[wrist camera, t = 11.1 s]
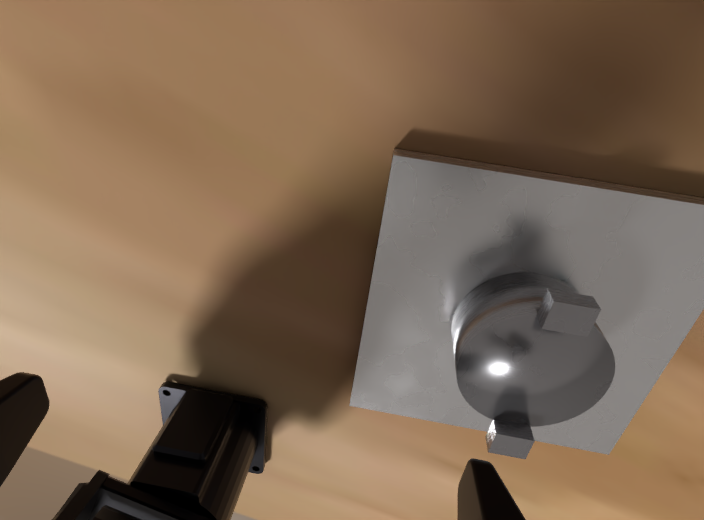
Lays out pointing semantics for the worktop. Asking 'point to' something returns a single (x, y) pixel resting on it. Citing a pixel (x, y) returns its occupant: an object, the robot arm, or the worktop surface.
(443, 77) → the worktop surface
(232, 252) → the worktop surface
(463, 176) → the grey square plate
